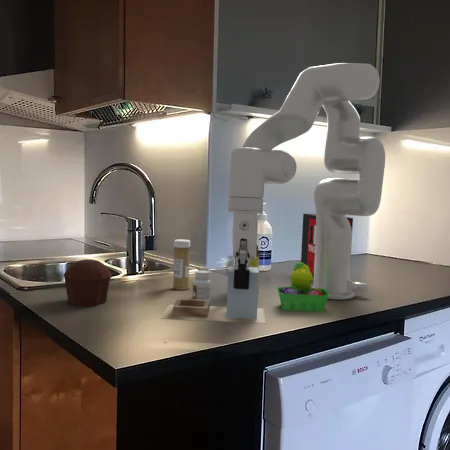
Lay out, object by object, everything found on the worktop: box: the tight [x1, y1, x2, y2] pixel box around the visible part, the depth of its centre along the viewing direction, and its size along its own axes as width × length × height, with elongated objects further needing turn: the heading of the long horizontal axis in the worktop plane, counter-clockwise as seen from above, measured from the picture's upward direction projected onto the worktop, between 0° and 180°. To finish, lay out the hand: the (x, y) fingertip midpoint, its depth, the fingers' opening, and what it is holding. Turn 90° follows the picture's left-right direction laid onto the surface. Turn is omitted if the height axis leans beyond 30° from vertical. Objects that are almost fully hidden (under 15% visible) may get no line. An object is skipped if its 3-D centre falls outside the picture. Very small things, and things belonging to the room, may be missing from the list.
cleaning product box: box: [300, 213, 354, 280], centre depth 162 cm, size 16×9×20 cm, turn 16°
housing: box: [226, 265, 260, 319], centre depth 111 cm, size 6×6×10 cm
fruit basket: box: [276, 261, 329, 313], centre depth 119 cm, size 11×9×11 cm
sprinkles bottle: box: [172, 238, 191, 291], centre depth 139 cm, size 5×5×14 cm
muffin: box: [63, 258, 113, 307], centre depth 121 cm, size 12×11×10 cm
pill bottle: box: [192, 270, 212, 301], centre depth 124 cm, size 4×4×8 cm
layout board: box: [159, 298, 267, 324], centre depth 111 cm, size 22×12×9 cm, turn 88°
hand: (241, 284), depth 110 cm, fingers open, 9 cm apart
